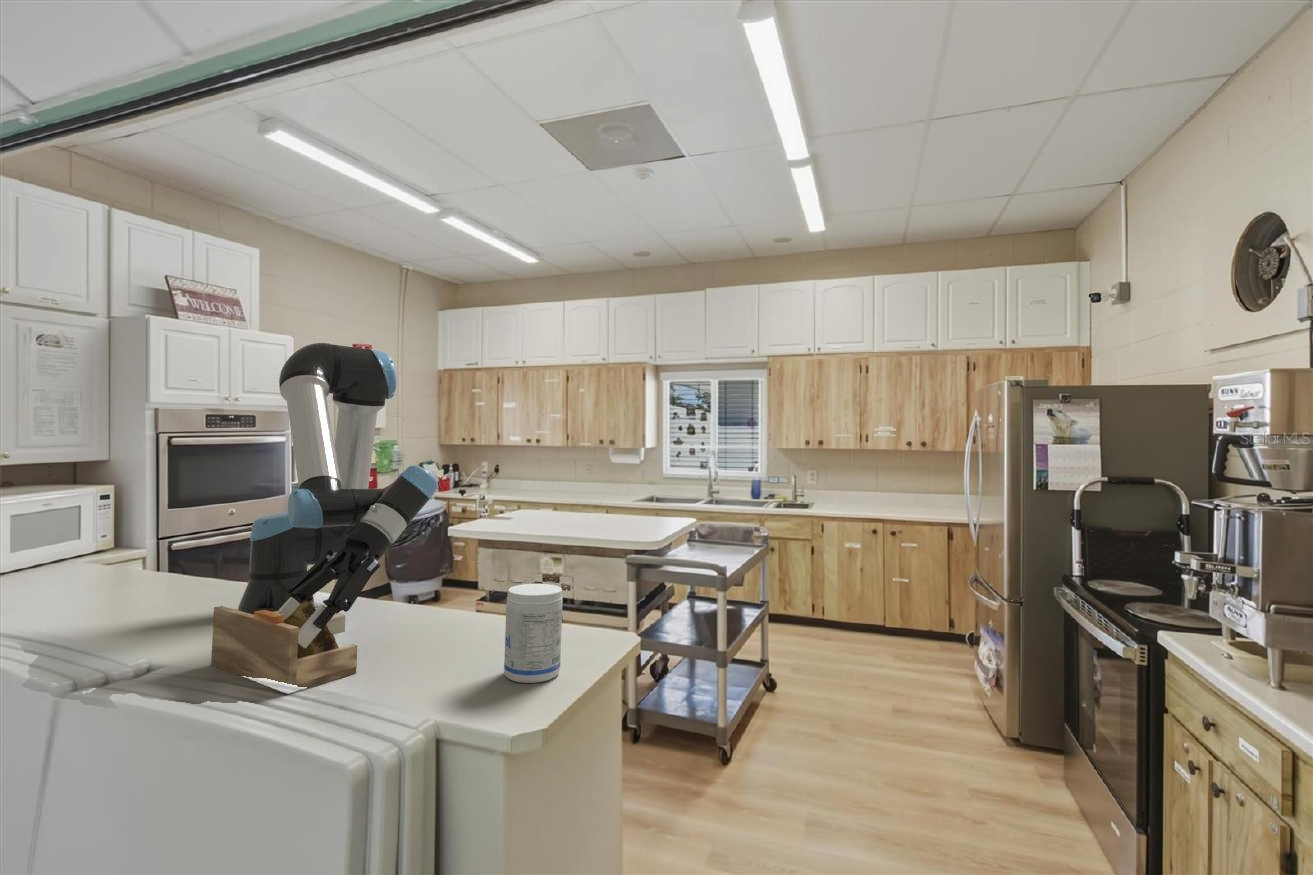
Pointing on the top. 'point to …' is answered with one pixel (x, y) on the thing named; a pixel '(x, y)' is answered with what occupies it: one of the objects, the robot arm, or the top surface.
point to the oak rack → (273, 650)
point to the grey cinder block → (335, 623)
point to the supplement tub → (533, 632)
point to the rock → (323, 638)
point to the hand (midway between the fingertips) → (282, 638)
